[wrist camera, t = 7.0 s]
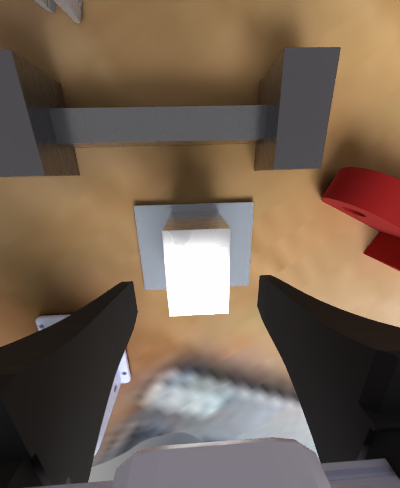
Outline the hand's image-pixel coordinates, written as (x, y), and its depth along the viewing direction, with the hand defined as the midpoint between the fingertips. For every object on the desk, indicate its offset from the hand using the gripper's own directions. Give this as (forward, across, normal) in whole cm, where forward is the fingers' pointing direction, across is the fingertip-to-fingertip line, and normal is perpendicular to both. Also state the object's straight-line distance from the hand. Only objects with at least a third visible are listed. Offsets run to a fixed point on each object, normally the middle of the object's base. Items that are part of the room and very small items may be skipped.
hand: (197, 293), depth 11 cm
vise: (+7, +2, -10) cm, 12 cm away
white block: (+7, 0, 0) cm, 7 cm away
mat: (+7, 0, 0) cm, 7 cm away
